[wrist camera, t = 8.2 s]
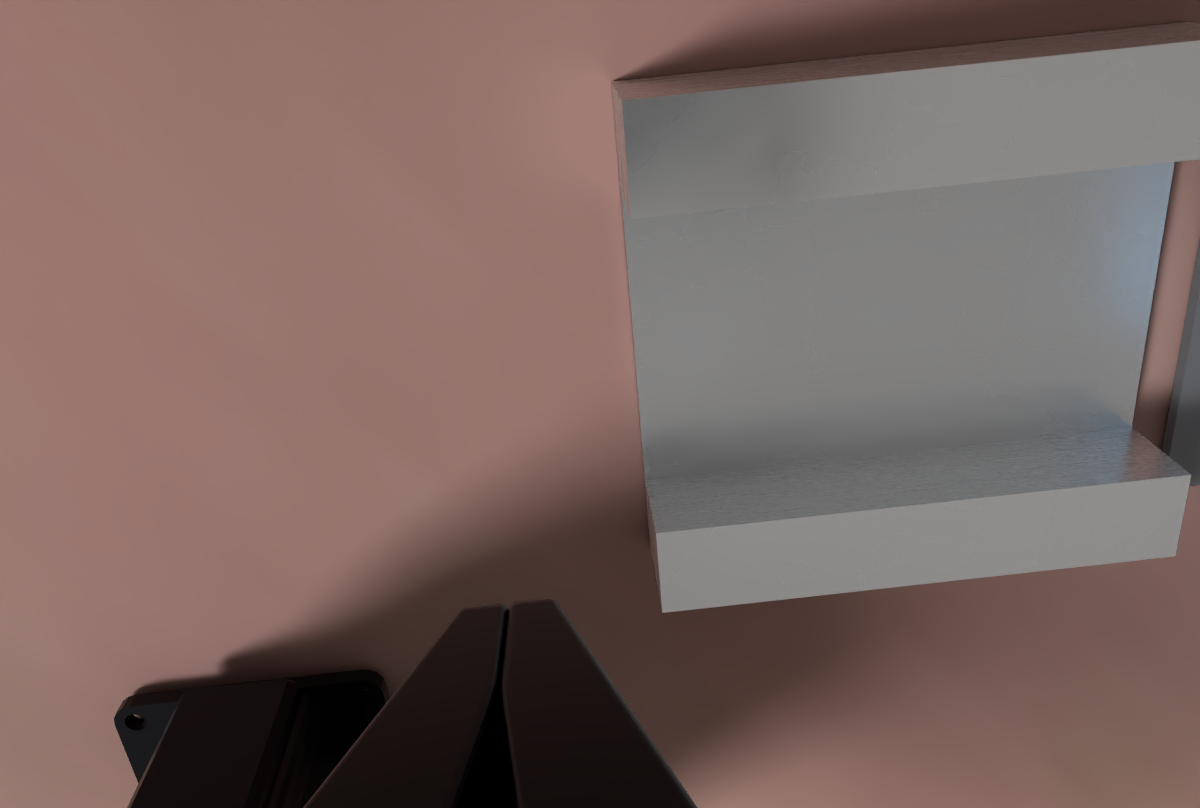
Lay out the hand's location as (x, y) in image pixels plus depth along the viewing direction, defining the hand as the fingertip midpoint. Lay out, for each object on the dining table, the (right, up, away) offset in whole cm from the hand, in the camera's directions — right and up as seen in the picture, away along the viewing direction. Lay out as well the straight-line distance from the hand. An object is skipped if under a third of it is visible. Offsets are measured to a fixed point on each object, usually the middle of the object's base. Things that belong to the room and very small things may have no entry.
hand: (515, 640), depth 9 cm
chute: (+7, +4, +12) cm, 15 cm away
